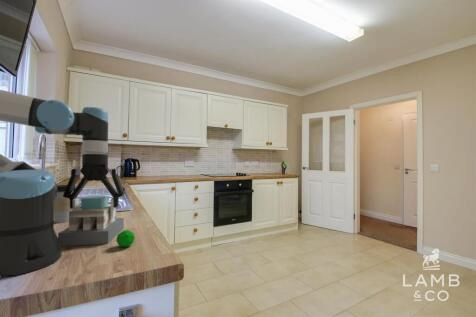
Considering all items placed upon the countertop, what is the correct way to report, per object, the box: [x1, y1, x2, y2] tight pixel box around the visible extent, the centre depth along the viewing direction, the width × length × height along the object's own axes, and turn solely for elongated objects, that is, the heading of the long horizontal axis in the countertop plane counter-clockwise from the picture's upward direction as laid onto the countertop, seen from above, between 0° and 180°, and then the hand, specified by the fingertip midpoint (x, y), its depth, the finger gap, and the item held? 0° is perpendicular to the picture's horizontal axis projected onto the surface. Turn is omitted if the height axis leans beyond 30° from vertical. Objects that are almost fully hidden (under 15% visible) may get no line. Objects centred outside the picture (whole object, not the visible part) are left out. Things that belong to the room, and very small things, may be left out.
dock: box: [57, 217, 125, 247], centre depth 80 cm, size 16×14×4 cm
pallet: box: [68, 203, 117, 231], centre depth 80 cm, size 12×10×6 cm
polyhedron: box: [116, 229, 135, 248], centre depth 71 cm, size 5×5×5 cm
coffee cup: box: [54, 184, 77, 224], centre depth 98 cm, size 9×9×15 cm
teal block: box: [80, 195, 109, 209], centre depth 80 cm, size 6×6×4 cm
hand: (94, 217), depth 80 cm, fingers open, 11 cm apart
